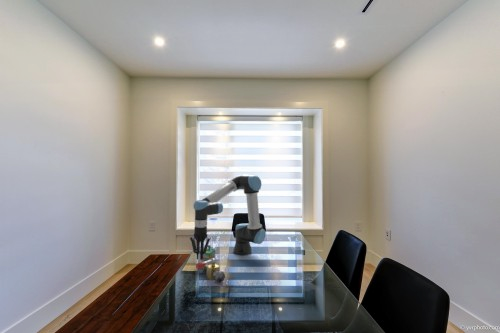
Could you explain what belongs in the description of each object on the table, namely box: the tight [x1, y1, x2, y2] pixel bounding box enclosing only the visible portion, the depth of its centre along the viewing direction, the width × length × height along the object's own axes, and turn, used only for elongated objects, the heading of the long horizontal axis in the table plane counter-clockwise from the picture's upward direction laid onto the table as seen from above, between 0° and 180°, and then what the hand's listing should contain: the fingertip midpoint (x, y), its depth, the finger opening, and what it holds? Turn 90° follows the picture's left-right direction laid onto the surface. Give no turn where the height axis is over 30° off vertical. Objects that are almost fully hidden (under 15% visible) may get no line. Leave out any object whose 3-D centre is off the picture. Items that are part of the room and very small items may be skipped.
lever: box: [195, 257, 217, 270], centre depth 137 cm, size 14×4×2 cm, turn 136°
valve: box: [201, 263, 226, 284], centre depth 141 cm, size 18×6×9 cm, turn 39°
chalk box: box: [200, 244, 216, 270], centre depth 156 cm, size 9×9×15 cm
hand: (199, 264), depth 136 cm, fingers closed
